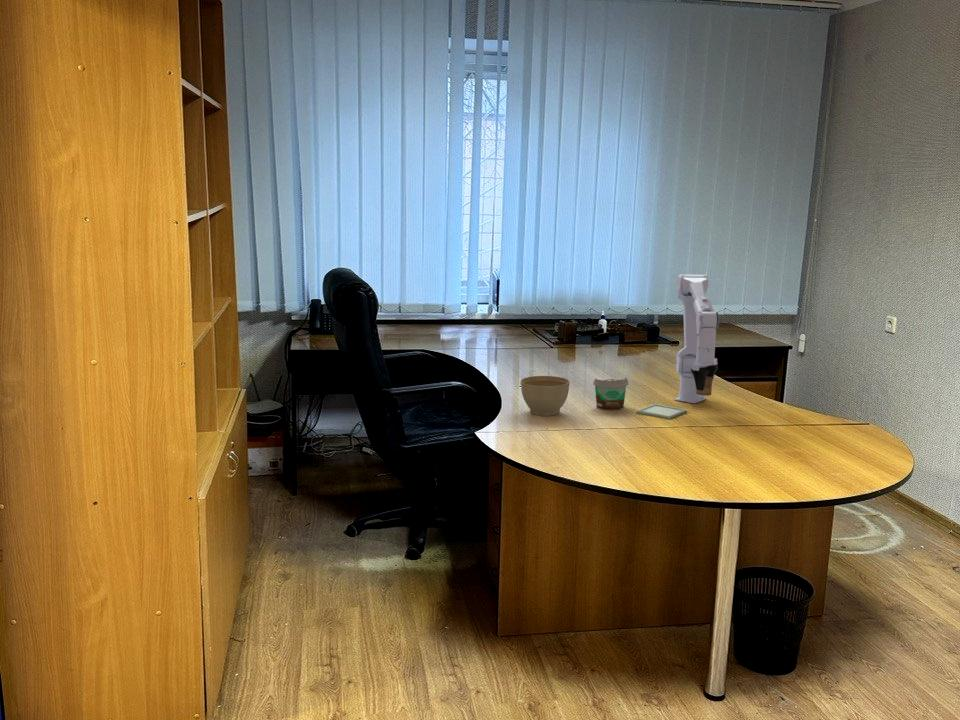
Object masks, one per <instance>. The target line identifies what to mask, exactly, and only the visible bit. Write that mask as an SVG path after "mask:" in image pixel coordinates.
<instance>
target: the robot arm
mask: <svg viewBox="0 0 960 720" xmlns="http://www.w3.org/2000/svg"><path fill="white" fill-rule="evenodd" d="M708 288H709V277H708V275H707V274H706V273H704V274H687V273H686V274H682V273H680V274H679V275H677V280H676V296H677V299H678V300H680V301H681V302H682V308H683V310H682V311H683V348H681V349H680V350H679V351H678V352H677V354H676V355H675V358H676V360H675V370H676V373H677V374H678V375H679V389H678V390H679V393H678V396H677V397H675V398H674V399H673V400H674V401H677V402H678V401H679V402H684V403H689V404H697V403H700V402H702V401H704V400H707V396H703V395H698V394H696V389H697V390H701V391H703V390H704V386H705V380H706V377H707V376H709V377H712V382H713V381H714V378H715V375H716V373H717V371H718V369H719V365H718V358H716V357H715V355H716V354H715V353H716V337H717V336H716V335H717V329H719V324H720V314H719V311H718V310H716V309H714V308H713V305H712V301H711V300H710V298H709V297H707V295H706V293H707V291H708Z"/></svg>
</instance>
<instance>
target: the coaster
mask: <svg viewBox="0 0 960 720" xmlns="http://www.w3.org/2000/svg"><path fill="white" fill-rule="evenodd" d="M687 411H688V410H687V409H686V408H681V407H675V406H670V405H663V404H658V403H653V404H650V405H646V406H644V407H641V408H639V409H636V414H639V415H640V414H641V415H646V416H650V417H656V418H662V419H668V420H671V419H673V418H675V417H678V416H681V415H683V414H685V413H687Z"/></svg>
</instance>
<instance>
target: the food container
mask: <svg viewBox="0 0 960 720" xmlns="http://www.w3.org/2000/svg"><path fill="white" fill-rule="evenodd" d="M592 384H593V385H594V386H595V387H594V388H595V402H596V403H595V405H596V408H598V409H601V410H607V411H616V410H617V411H619V410H623V409H624V407H625V397H626V390H627V387H628V385H629V380H628V377H627V376H625V377H624V379H612V378H611V379H610V378H609V379H603V380H602V379H599V378H594V380H593V383H592Z"/></svg>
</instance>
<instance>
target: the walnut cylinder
mask: <svg viewBox="0 0 960 720" xmlns="http://www.w3.org/2000/svg"><path fill="white" fill-rule="evenodd" d="M712 388H713V381H712V377H709V376H707V377H706V380H705V386H704V390H703V391H701V390H697V389H696V394H698V395H703V396H704V397H707V396H712Z"/></svg>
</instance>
